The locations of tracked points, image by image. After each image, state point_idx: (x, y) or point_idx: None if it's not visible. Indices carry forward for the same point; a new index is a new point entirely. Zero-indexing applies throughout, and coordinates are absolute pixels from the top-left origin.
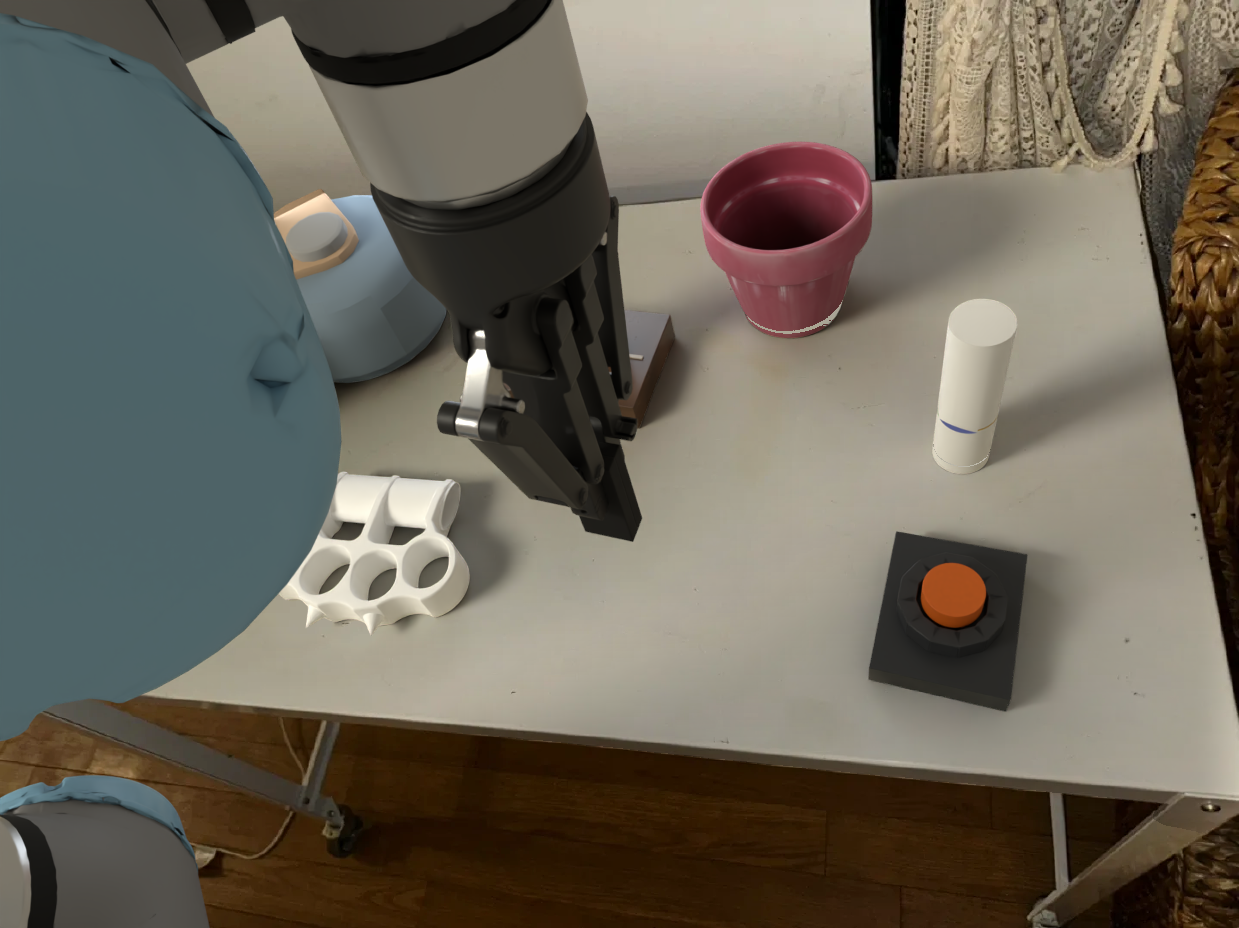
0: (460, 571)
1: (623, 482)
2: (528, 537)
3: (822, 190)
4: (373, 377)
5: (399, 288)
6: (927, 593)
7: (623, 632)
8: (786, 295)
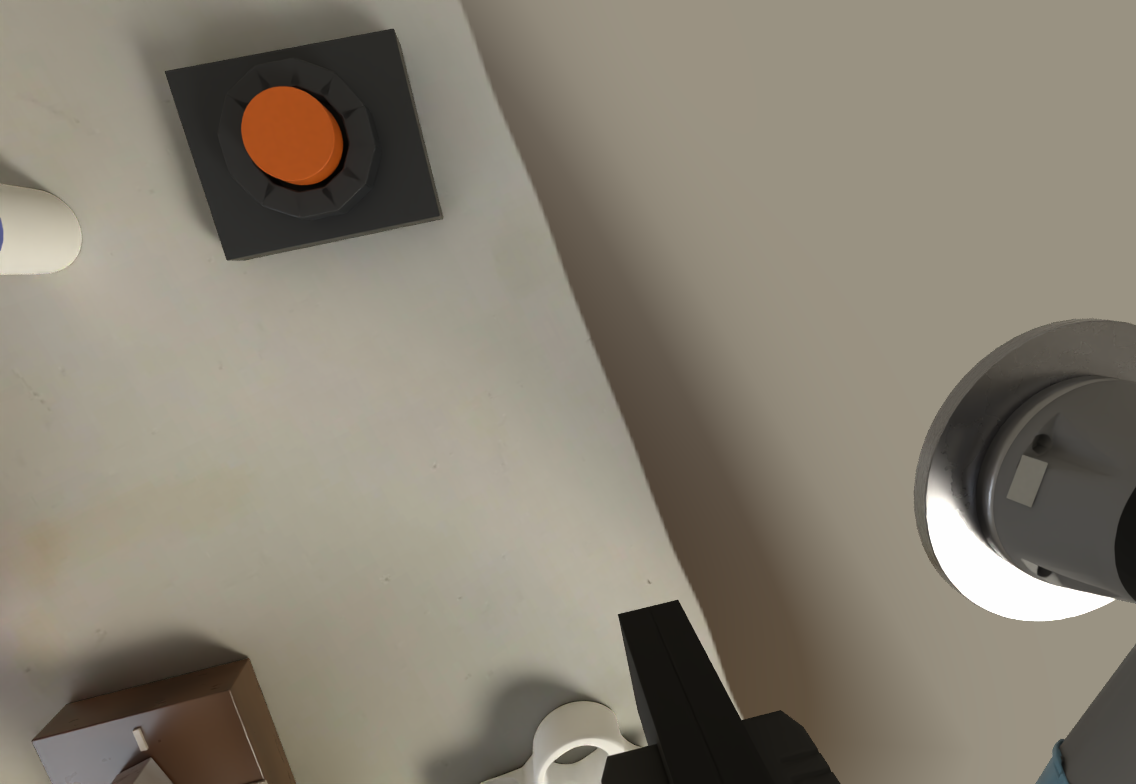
0: (563, 730)
1: (701, 742)
2: (470, 684)
3: None
4: None
5: None
6: (314, 167)
7: (527, 513)
8: None
